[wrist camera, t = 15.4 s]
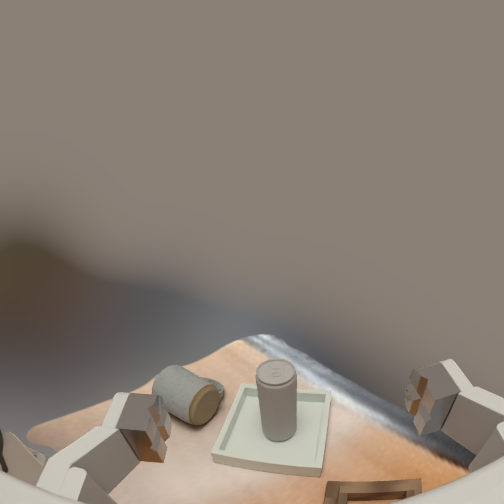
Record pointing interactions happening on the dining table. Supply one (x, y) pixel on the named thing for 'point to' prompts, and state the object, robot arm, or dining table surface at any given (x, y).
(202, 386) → the ceramic mug
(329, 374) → the dining table surface
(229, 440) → the tray
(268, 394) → the beverage can
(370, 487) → the walnut collar
